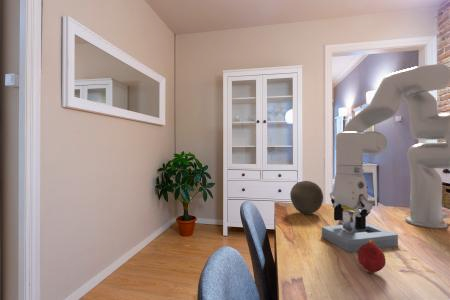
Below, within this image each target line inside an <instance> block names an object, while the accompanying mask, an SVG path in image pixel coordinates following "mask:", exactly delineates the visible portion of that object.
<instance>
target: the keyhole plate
mask: <svg viewBox="0 0 450 300" xmlns="http://www.w3.org/2000/svg"><path fill="white" fill-rule="evenodd" d="M321 237H322V238H323V239H325V240H327V241H329V242H330V243H332V244H333V245H335V246H337V247H339V248H341V249H342V250H344V251H346V252H347V253H351V252H358V250H359V248H360V247H361V246H362V245H364V244H367V243H368V242H369V240H371V239H372V240H373V241H374V244H375V245H377V246H378V247H379V248H380V249H381V248H382V249H383V248H389V247H398V246H399V235H398V233H394V232H392V231H389V230H387V229H384V228H383V227H382V228H381V227H379V226H376V225H373V224H371V223H368V222H366V229H364V230H356V229H355V230H353V233H349V234H348V233H346V232H345V229H343V224H337V225H328V226H321Z"/></svg>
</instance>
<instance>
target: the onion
mask: <svg viewBox="0 0 450 300" xmlns="http://www.w3.org/2000/svg"><path fill="white" fill-rule="evenodd" d="M356 256H357V261H358V262H359V264H360V266H361V267H362V268H363V269H364V270H365V271H366V272H368V273H369V274H374V273H378V272H380V271H381V270H382V269H383V268H385V266H386V257H385V256H386V255H385V254H384V252H383V250H382V249H381V248H379V247H378V246H377V245H375V244H374V241H373V240H372V239H371V240H369V242H368V243H367V244H364V245H362V246H361V247H360V248H359V250H358V251H357V255H356Z"/></svg>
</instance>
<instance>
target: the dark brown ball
mask: <svg viewBox="0 0 450 300" xmlns="http://www.w3.org/2000/svg"><path fill="white" fill-rule="evenodd" d="M289 195H290V200H291V202H292V205H293V207H294V208H295V209H296V211H297V212H299V213H301V214H304V215H310V214H313V213H315V212H317V211H319V209H320V208H321V206H322V205H323V203H324V194H323V191H322V189H321V187H320V186H319V185H318V183H315V182H313V181H309V180H303V181H298V182H296V183H295V184H294V185H293V186H292V188H291V189H290V193H289Z"/></svg>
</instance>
